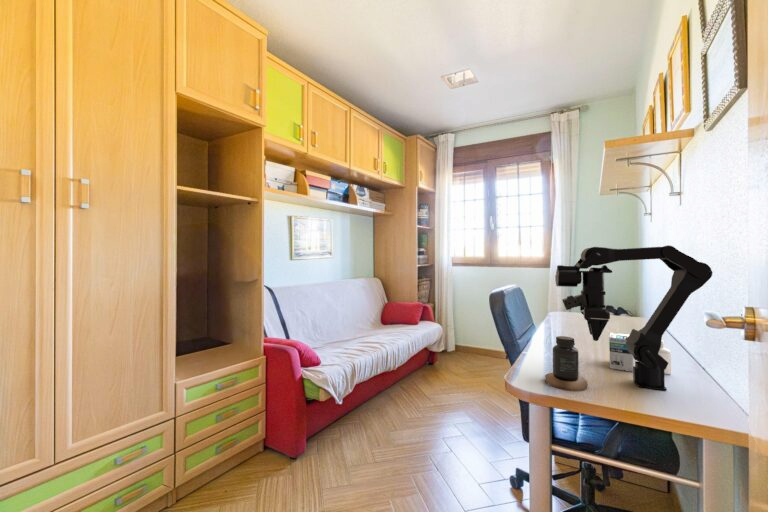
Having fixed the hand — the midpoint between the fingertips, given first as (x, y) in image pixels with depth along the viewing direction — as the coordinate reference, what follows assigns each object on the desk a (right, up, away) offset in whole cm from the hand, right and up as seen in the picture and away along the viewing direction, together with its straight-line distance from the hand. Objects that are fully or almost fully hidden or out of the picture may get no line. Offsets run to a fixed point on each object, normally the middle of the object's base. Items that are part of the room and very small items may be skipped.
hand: (593, 337), depth 101 cm
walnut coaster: (-11, -13, -4) cm, 17 cm away
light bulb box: (+18, -14, +13) cm, 26 cm away
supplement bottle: (-10, -12, -3) cm, 16 cm away
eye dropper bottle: (+26, -13, +7) cm, 30 cm away
